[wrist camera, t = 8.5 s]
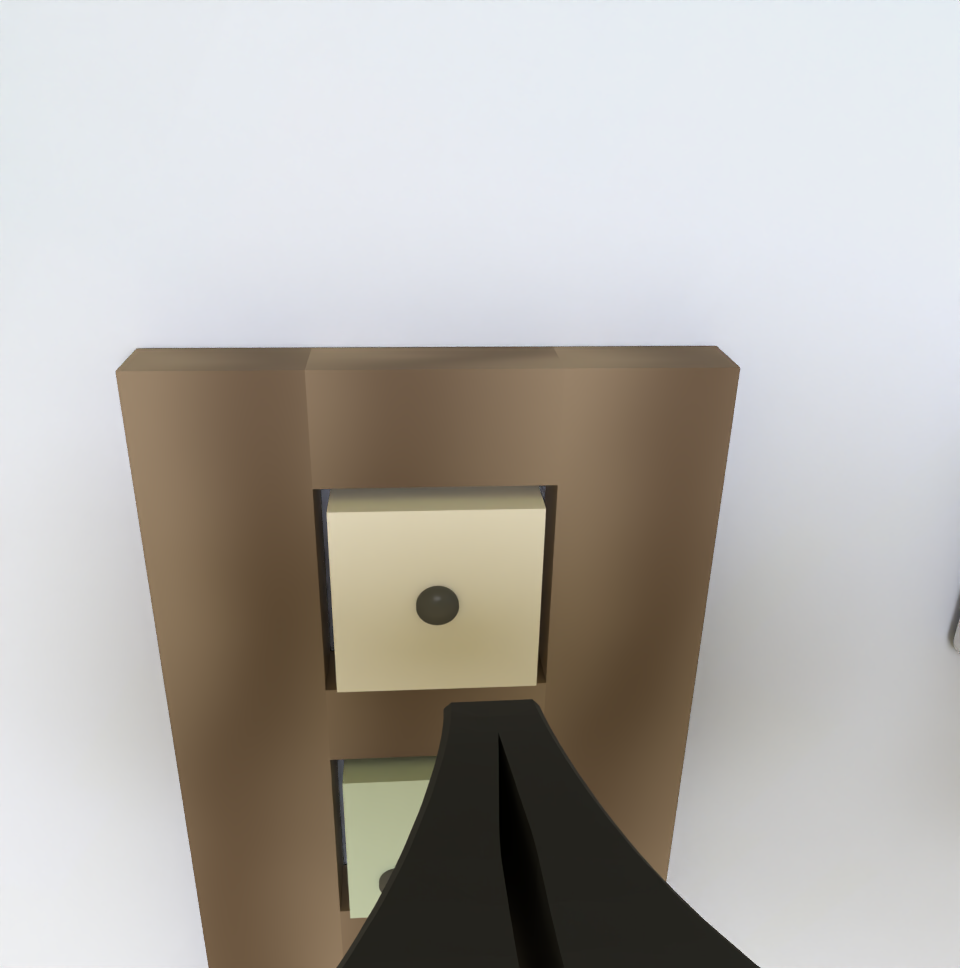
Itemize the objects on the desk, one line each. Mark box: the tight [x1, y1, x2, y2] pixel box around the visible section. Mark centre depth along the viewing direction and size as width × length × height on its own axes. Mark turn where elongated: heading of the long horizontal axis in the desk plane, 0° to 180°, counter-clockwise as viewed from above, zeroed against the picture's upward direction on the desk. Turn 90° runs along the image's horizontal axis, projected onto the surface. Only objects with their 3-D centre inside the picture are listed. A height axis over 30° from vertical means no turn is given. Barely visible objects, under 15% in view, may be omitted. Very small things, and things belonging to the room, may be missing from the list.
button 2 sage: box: [342, 756, 437, 918], centre depth 23 cm, size 4×4×2 cm
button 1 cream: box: [327, 485, 546, 692], centre depth 20 cm, size 4×4×2 cm
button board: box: [115, 346, 740, 968], centre depth 23 cm, size 12×24×2 cm, turn 0°
